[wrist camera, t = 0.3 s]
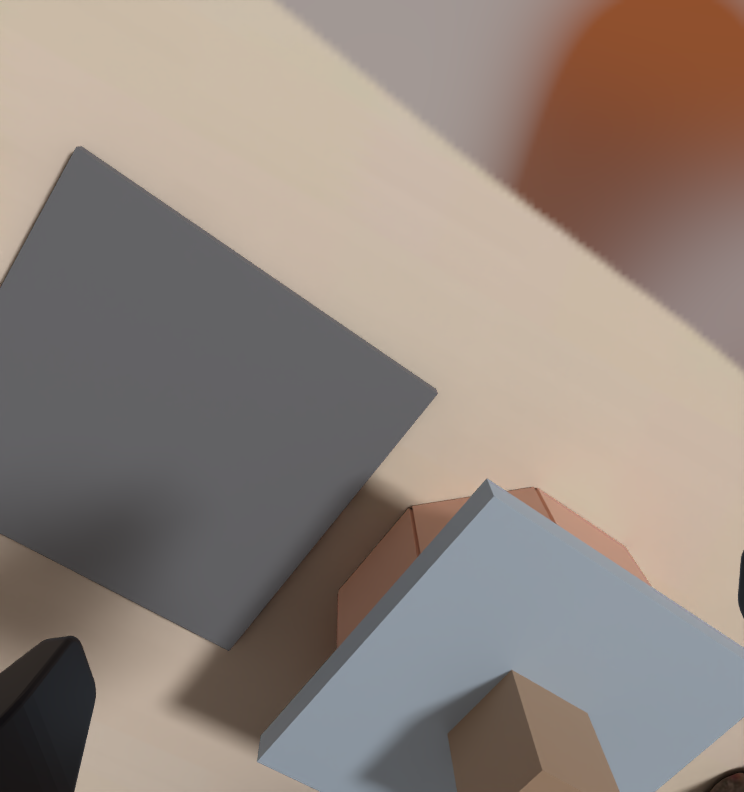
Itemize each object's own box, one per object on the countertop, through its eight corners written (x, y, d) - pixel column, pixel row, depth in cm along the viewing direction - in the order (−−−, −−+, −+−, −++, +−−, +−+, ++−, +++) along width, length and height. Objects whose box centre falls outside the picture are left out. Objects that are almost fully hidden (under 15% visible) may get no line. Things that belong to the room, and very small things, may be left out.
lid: (764, 661, 22) (860, 783, 18) (527, 865, 26) (562, 1008, 22) (486, 478, 19) (525, 574, 15) (260, 735, 23) (241, 872, 19)
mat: (436, 389, 23) (437, 393, 22) (230, 643, 26) (228, 650, 26) (81, 146, 19) (76, 146, 19) (-97, 474, 23) (-104, 479, 23)
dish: (686, 587, 26) (743, 664, 22) (503, 760, 29) (526, 853, 26) (466, 439, 23) (489, 499, 20) (290, 647, 27) (281, 732, 23)
